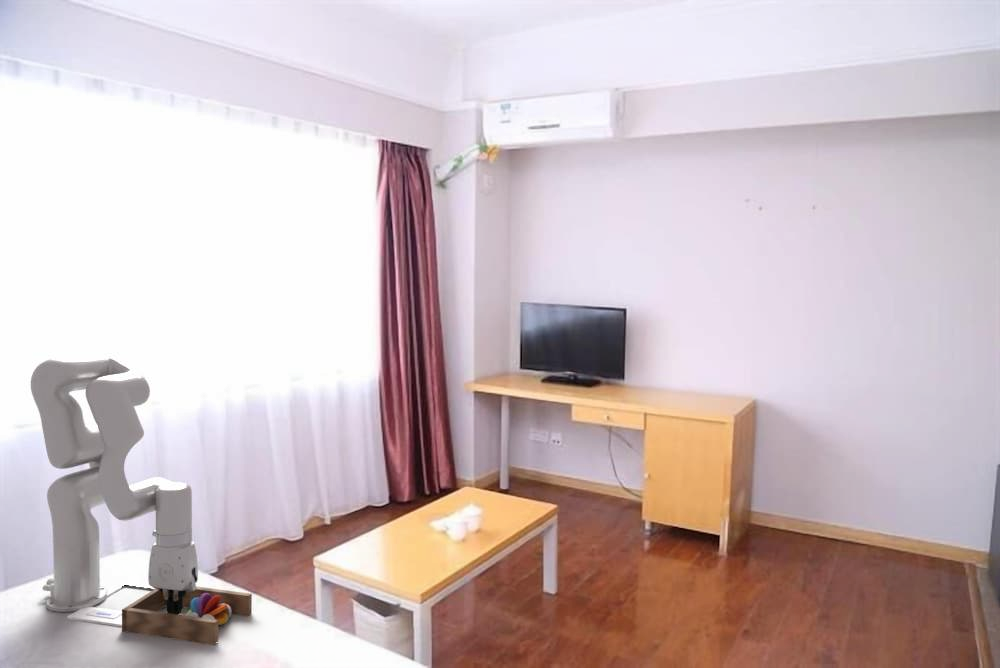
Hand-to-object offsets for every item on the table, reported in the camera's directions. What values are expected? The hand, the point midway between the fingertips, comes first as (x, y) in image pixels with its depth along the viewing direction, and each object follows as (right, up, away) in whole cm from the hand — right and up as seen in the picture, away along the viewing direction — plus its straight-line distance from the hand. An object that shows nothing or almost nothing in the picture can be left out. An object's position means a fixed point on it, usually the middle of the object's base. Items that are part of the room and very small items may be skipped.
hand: (174, 614), depth 157 cm
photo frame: (-16, -1, +7) cm, 17 cm away
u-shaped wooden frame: (+4, -2, -1) cm, 5 cm away
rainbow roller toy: (+8, -2, -1) cm, 9 cm away
